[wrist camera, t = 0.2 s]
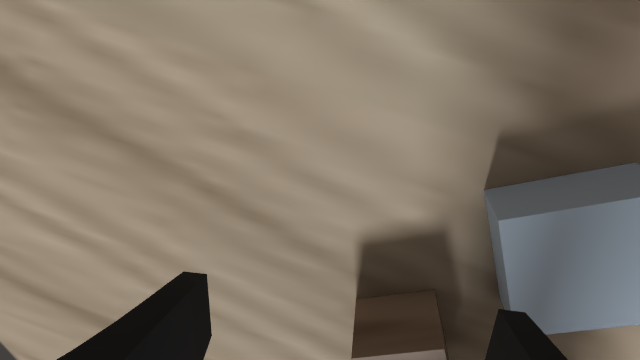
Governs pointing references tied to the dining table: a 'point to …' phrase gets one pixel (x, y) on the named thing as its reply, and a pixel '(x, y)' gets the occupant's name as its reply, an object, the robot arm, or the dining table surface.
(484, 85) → the dining table surface
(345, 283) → the dining table surface
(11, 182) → the dining table surface
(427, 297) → the walnut cube
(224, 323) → the dining table surface
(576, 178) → the base block
